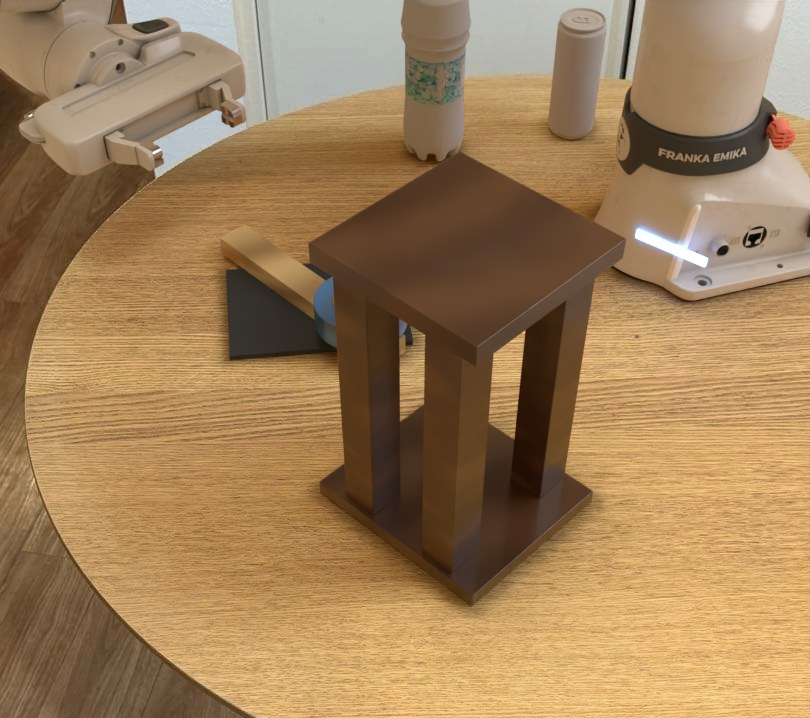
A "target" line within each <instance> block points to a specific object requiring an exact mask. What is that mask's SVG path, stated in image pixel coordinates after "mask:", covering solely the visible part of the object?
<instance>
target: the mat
mask: <svg viewBox="0 0 810 718" xmlns="http://www.w3.org/2000/svg"><path fill="white" fill-rule="evenodd" d="M301 264H302V265H304V266H305V267H307V268H308V269H310V270H311V271H313V272H314V273H315V274H317V275H318V276H320V277H321V278H323V279H324V280H328V279H329V278H331V277H332V276H331V275H329V274H327V273H326V272H324V271H323V270H321V269H320V268H318V267H316V266H315V265H313V264H312V263H310V262H309V263H308V262H307V263H301ZM225 279H226V280H225V281H226V282H225V283H226V304H227V307H226V308H227V328H228V329H227V331H228V351H229V352H228V353H229V360H230V361H236V360H237V361H238V360H246V359H247V360H249V359H259V358H270V357H271V358H272V357H282V356H294V355H295V356H296V355H305V354H318V353H331V352H337V348H335V347H333V346H331V345H330V344H328V343H327V342H325V341H324V340H323V339H322V338H321V337H320V335H319V334H318V332H317V330H316V327H315V320H314V319H312V318H311V317H309V316H308V315H307V314H305V313H304V312H303V311H301V310H300V309H298V308H297V307H296V306H294V305H293V304H291V303H290V302H289V301H287V300H286V299H285V298H283V297H282V296H280V295H279V294H278V293H276V292H275V291H273V290H272V289H271V288H269V287H268V286H266V285H265V284H264V283H262V282H261V281H260V280H258V279H257V278H255V277H254V276H253V275H251V274H250V273H248V272H247V271H246V270H244V269H243V268H233V269H225ZM403 334H404V335H405V346H412V345H414V339H413V333H412V327H411V326H410V325H408V324H407V327H406V330H405V331H404V333H403Z"/></svg>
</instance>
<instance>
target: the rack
mask: <svg viewBox="0 0 810 718" xmlns="http://www.w3.org/2000/svg"><path fill="white" fill-rule="evenodd" d="M593 221H594V220H591V218H587V217H586V216H584V215H582V214H580V213H578V212H576V211H574V210H572V209H571V208H568V207H566V206H565V205H563V204H561V203H559V202H557V201H555V200H553V199H552V198H549V197H548V196H546V195H543V194H542V193H540V192H538V191H536V190H534V189H532V188H530V187H528V186H526V185H525V184H523V183H521V182H519V181H517V180H515V179H513V178H512V177H509V176H508V175H505V174H504V173H501V172H500V171H498V170H496V169H495V168H493V167H490V166H489V165H486V164H485V163H483V162H481V161H479V160H476V158H473V157H471V156H469V155H467V154H465V153H464V152H462V151H458V152H457V153H456V154H455V155H453V156H449V157H448V158H445V159H444V160H443V161H440V163H438V164H437V165H435V166H433V167H431V168H429V169H428V170H427V171H425V172H424V173H422V174H420V175H419V176H416V177H415V178H413V179H412V180H410V181H409V182H406V183H405V184H403V185H402V186H400V187H398V188H397V189H395V190H393V191H392V192H390V193H389V194H387V195H385V196H383V197H382V198H380V199H379V200H377V201H375V202H373V203H372V204H370V205H369V206H367V207H365V208H363V209H362V210H360V211H359V212H357V213H356V214H354V215H352V216H351V217H349V218H347V219H346V220H344V221H342V222H341V223H339V224H338V225H336V226H334V227H333V228H331V229H329V230H327V231H326V232H324V233H322V234H321V235H319V236H317V237H315V238H314V239H312V240H311V241H309V242H308V244H307V245H308V257H309V263H312V264H313V265H315V266H316V267H318V268H320V269H321V270H323V271H324V272H326V273H327V274H329V275H331V276H332V277H333V291H334V307H335V323H336V339H337V351H336V352H337V353H336V354H337V355H336V356H337V368H338V369H337V370H338V384H339V402H340V417H341V433H342V434H341V435H342V448H343V464H341V466H338V467H337V468H336V469H335V470H333V471H332V472H331V473H329V474H327V476H325V477H324V478H322V479H321V480H320V481H319V492H320V493H321V494H323V495H324V496H325V497H326V498H328V499H329V500H331V501H332V502H333V503H334V504H336V505H337V506H339V507H340V508H341V509H342V510H343V511H345V512H346V513H348V514H349V515H351V516H352V517H353V518H354V519H355V520H357V521H358V522H359V523H360V524H362V525H364V526H365V527H366V528H368V530H370V531H372V533H374V534H376V535H377V536H378V537H380V538H381V539H382V540H383V541H385V542H386V543H387V544H389V545H390V546H392V547H393V548H394V549H396V550H397V551H398V552H399V553H401V554H402V555H403V556H405V557H406V558H407V559H409V560H410V561H411V562H412V563H414V564H415V565H416V566H418V567H419V568H420V569H422V570H423V571H425V572H426V573H427V574H429V575H430V576H431V577H433V578H434V579H435V580H436V581H438V582H439V583H441V584H442V585H443V586H444V587H446V588H447V589H448V590H450V591H451V592H452V593H454V594H456V595H457V596H458V597H459V598H461V599H462V600H463V601H465V602H466V603H467V604H469V605H470V606H471V607H472V606H474V605H475V604H476V603H477V602H478V601H480V600H481V599H482V598H483V597H484V596H485V595H486V594H488V593H489V592H490V591H491V590H492V589H493V588H494V587H495V586H496V585H498V584H499V583H500V582H501V581H502V580H504V579H505V578H506V576H508V575H509V574H511V572H513V571H514V570H515V569H516V568H517V567H518V566H519V565H520V564H522V563H523V562H524V561H525V560H526V559H527V558H529V557H530V556H531V555H532V554H533V553H534V552H535V551H536V550H538V549H539V548H541V546H542V545H543V544H544V543H546V542H547V541H548V540H549V539H550V538H551V537H552V536H553V535H555V534H556V533H557V532H558V531H560V530H561V528H563V527H564V526H565V525H566V524H567V523H569V521H571V520H572V519H573V518H574V517H575V516H576V515H578V513H580V512H581V511H582V510H583V509H584V508H585V507H586V506H588V505H589V504H590V503H591V502H592V500H593V495H594V491H593V490H592V489H591V488H589V487H588V486H586V485H585V484H583V483H581V482H580V481H578V480H577V479H575V478H574V477H572V476H570V475H569V474H568V473H566V468H567V462H568V454H569V449H570V442H571V435H572V429H573V423H574V416H575V409H576V402H577V396H578V392H579V391H578V390H579V383H580V377H581V371H582V365H583V358H584V351H585V346H586V338H587V333H588V327H589V320H590V314H591V306H592V301H593V293H594V287H595V282H596V278H598V277H599V276H601V275H603V273H605V272H606V271H609V269H610V268H612V267H614V266H613V265H614V264H616V263H617V262H618V261H620V260H621V259H622V258H623V255H624V249H625V244H626V238H624V237H622V236H620V235H618V234H616V233H614V232H612V231H610V230H609V229H607V228H605V227H603V226H601V225H599V224H597V223H595V222H593ZM399 319H401V320H402V321H404V322H405V323H407V324H408V325H410V327H411V328H413V329H415V330H416V331H418V332H420V333H421V334H423V335H424V377H423V378H424V379H423V380H424V381H423V382H424V383H423V386H424V387H423V404H422V405H421V406H420V407H419V408H417V409H416V410H415V411H413V412H412V413H411V414H409V415H408V416H407V417H405V418H404V419H402V420H401V377H400V376H401V375H400V374H401V373H400V372H401V370H400V369H401V368H400V367H401V366H400V365H401V363H400V359H401V357H400V356H401V355H400V349H399ZM522 333H524V340H523V351H522V358H521V359H522V361H521V371H520V380H519V389H518V390H519V391H518V399H517V410H516V418H515V429H514V437H513V438H512V437H511V436H510V435H508V434H507V433H506V432H503V430H501V429H499V428H497V427H496V426H494V425H493V424H491V423H489V421H490V420H489V419H490V418H489V417H490V405H491V404H490V403H491V393H492V379H493V365H494V354H495V353H496V352H498V351H499V350H501V349H502V348H504V347H505V346H506V345H507V344H509V343H510V342H512V341H513V340H514V339H516V338H517V337H519V336H520V335H521V334H522Z"/></svg>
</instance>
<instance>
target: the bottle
mask: <svg viewBox="0 0 810 718" xmlns="http://www.w3.org/2000/svg"><path fill="white" fill-rule="evenodd" d="M400 26H401V39H402V41H403V43H404V106H403V118H402V119H403V120H402V132H403V140H404V145H405V147H406V149H407V151H408V153H410V154H414V155H415V154H416V156H417V158H418V159H419V160H420V161H426V160H427V159H428V156H429V155H430V154H431V155H435V160H436V161H437V162H443V161H445V160H446V158H447V155H448V156H449V157H451V156H453V155H455V154H456V153H458V152H460V149H461V146H462V143H463V139H464V135H465V99H464V97H465V95H464V94H465V75H466V74H465V73H466V54H467V52H466V51H467V50H466V49H467V48H466V47H467V44H468V42H469V40H470V38H471V33H470V29H471V26H472V19H471V9H470V0H403V5H402V12H401V17H400Z"/></svg>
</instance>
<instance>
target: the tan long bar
mask: <svg viewBox="0 0 810 718" xmlns="http://www.w3.org/2000/svg"><path fill="white" fill-rule="evenodd" d="M219 244H220V252H221V254H222V255H223V256H225V257H226V258H228V259H229V260H231V262H233V263H235V264H236V265H237V266H239V267H240V268H241V269H244V270H246V271H247V272H248V273H250V274H251V275H253V276H254V277H255V278H257V279H258V280H260V281H261V282H262V283H264V284H265V285H266V286H268V287H269V288H271V289H272V290H273V291H275V292H276V293H278V294H279V295H280V296H282V297H283V298H285V299H286V300H287V301H289V302H290V303H291V304H293V305H294V306H296V307H297V308H298V309H300V310H301V311H303V312H304V313H305V314H307V315H308V316H309V317H311V318H312V319H314V320H315V327H316V330H317V332H318V334H319V335H320V337H321V338H322V339H323V340H324V341H325V342H327V343H328V344H330V345H331V346H333V347H335V348H337V339H336V323H335V307H334V291H333V277H331V278H329V279H328V280H324V279H323V278H321V277H320V276H318V275H317V274H315V273H314V272H313V271H311V270H310V269H308V268H307V267H305V266H304V265H302V264H303V263H301V262H300V261H298V260H297V259H296V258H294V257H293V256H291V255H289V254H288V253H286V252H285V251H284V250H283V249H281V248H279V247H278V246H277V245H275V244H273V243H272V242H271V241H269V239H266V238H265V237H264V236H262V235H260V234H259V233H258V232H256V231H255V230H253V229H252V228H251V227H249V226H248V225H246V224H242V225H240V226H239V227H237V228H234V229H233V230H231V231H229V232H227V233H225V234H223V235H221V236H219ZM406 327H407V323H405V322H404V321H402V320H401V319H399V349H400V356H401V355H403V354H404V353H405V352H407V351H406V348H407V347H406V345H405V335H404V334H403V333H404V331H405V330H406Z"/></svg>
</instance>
